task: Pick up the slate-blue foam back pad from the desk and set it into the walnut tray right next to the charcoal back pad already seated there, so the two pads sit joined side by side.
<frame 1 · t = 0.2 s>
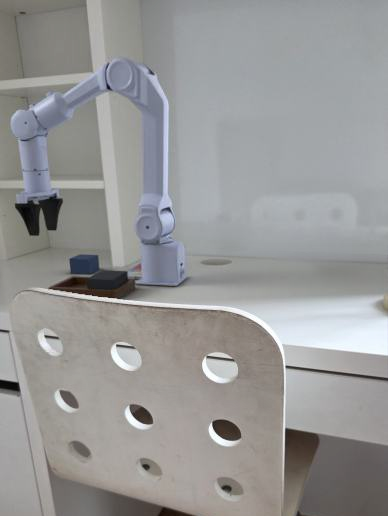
hand: (43, 232, 121), 10 cm above the table, tool pointing down, fingers open, 7 cm apart
pad tray: (93, 293, 108), on the table
smartphone: (146, 272, 125), on the table, touching arm
charcoal pad: (108, 291, 107), resting on pad tray
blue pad: (85, 271, 128), on the table
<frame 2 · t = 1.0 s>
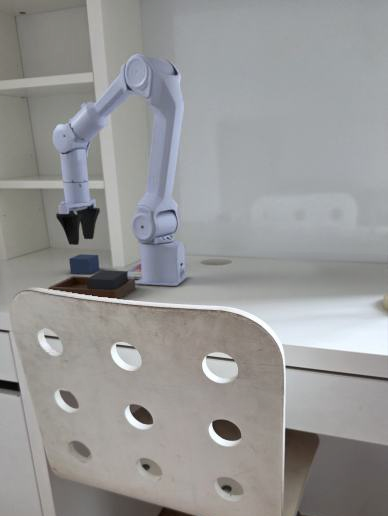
hand: (81, 241, 125), 7 cm above the table, tool pointing down, fingers open, 7 cm apart
nothing on the table moved.
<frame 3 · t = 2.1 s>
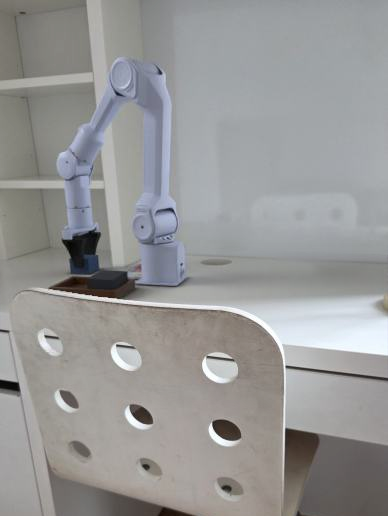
hand: (84, 264, 127), 2 cm above the table, tool pointing down, fingers closed on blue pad, 5 cm apart
smartphone: (147, 273, 125), on the table
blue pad: (85, 271, 127), on the table, touching gripper
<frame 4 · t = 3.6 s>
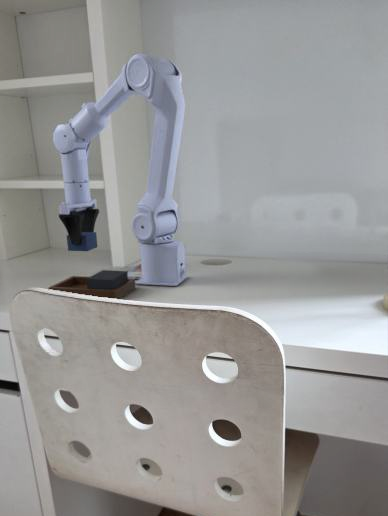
hand: (82, 242, 125), 7 cm above the table, tool pointing down, fingers closed on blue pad, 5 cm apart
smartphone: (147, 272, 125), on the table, touching arm
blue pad: (83, 248, 125), point 6 cm above the table, touching gripper
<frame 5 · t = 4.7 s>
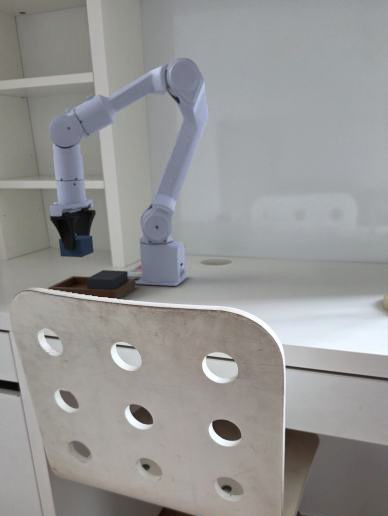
hand: (76, 246, 112), 8 cm above the table, tool pointing down, fingers closed on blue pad, 5 cm apart
smartphone: (148, 273, 125), on the table
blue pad: (77, 254, 112), point 7 cm above the table, touching gripper
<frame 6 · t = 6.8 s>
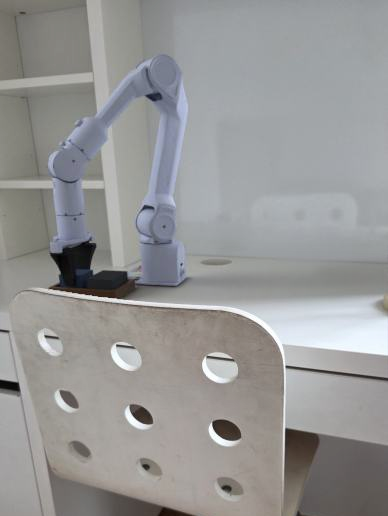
hand: (77, 281, 109), 2 cm above the table, tool pointing down, fingers closed on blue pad, 5 cm apart
smartphone: (149, 273, 125), on the table, touching arm
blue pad: (77, 289, 109), point 1 cm above the table, touching gripper
when the fingers open (2 cm above the table, at t = 7.3 s): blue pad stays where it is, resting on pad tray.
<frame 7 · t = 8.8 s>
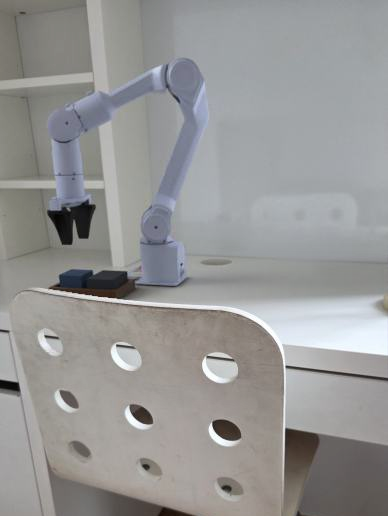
hand: (75, 241, 112), 9 cm above the table, tool pointing down, fingers open, 7 cm apart
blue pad: (77, 289, 109), point 1 cm above the table, touching pad tray
everything else where it was.
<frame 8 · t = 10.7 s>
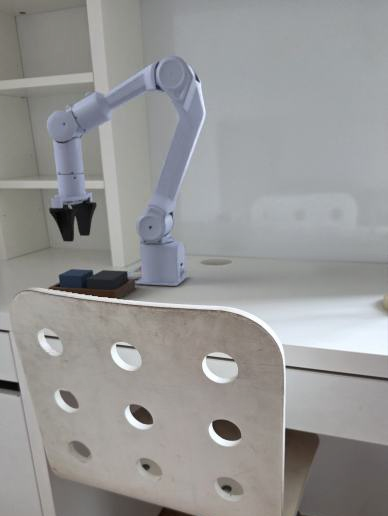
hand: (76, 238, 116), 9 cm above the table, tool pointing down, fingers open, 7 cm apart
smartphone: (150, 273, 125), on the table
everything else where it was.
at the end: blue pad 0.1 cm from the target spot in the pad tray, point 0.6 cm above the pad tray's base; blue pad tilted 0°; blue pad 7.0 cm from the charcoal pad (horizontally) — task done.
